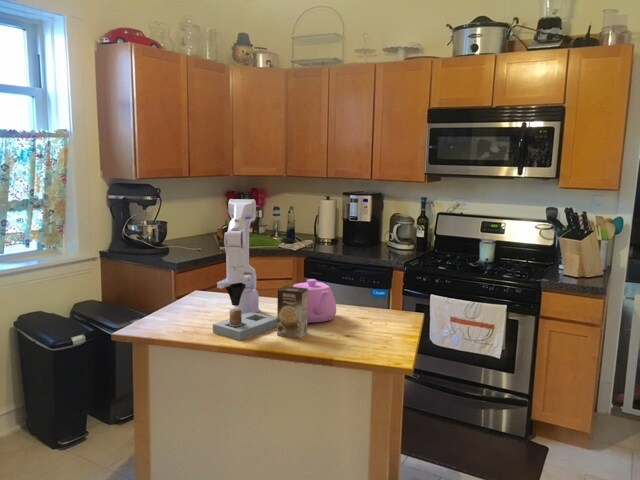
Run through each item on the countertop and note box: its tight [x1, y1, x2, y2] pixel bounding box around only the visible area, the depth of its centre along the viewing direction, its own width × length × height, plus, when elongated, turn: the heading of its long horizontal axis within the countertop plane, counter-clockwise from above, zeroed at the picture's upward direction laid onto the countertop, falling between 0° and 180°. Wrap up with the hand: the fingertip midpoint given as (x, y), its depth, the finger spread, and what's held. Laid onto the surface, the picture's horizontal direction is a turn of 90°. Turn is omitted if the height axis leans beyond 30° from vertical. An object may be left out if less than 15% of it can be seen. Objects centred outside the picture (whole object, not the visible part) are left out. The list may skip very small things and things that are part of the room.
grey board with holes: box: [212, 312, 277, 341], centre depth 186 cm, size 19×13×3 cm
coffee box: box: [276, 285, 308, 339], centre depth 180 cm, size 9×6×16 cm
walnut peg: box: [229, 308, 242, 328], centre depth 181 cm, size 4×4×8 cm
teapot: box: [292, 278, 337, 325], centre depth 194 cm, size 23×21×15 cm
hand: (235, 305), depth 180 cm, fingers closed
